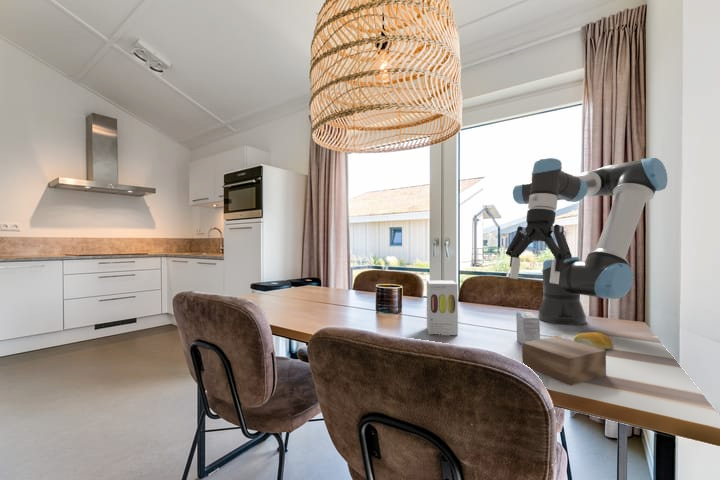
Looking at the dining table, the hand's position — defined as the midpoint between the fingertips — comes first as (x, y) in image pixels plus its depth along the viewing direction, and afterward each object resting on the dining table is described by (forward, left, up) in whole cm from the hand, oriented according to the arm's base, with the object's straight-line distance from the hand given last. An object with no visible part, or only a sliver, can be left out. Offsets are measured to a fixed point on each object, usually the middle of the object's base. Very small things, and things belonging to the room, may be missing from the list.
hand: (532, 280), depth 99 cm
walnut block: (+12, +17, -19) cm, 28 cm away
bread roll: (-12, +9, -19) cm, 24 cm away
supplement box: (+17, -22, -19) cm, 33 cm away
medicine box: (+3, 0, -19) cm, 19 cm away
